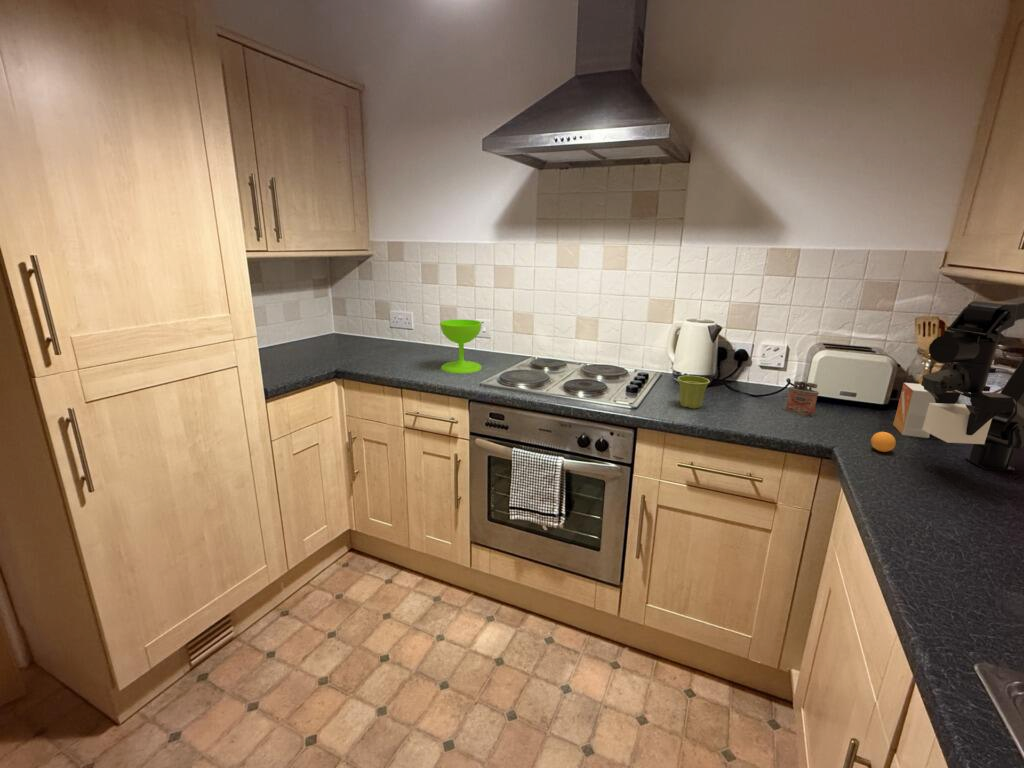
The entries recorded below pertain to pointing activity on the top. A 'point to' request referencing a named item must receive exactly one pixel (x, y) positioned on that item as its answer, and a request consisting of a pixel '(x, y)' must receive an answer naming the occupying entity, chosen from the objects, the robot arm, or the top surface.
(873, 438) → the ball
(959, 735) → the top surface
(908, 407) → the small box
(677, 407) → the top surface
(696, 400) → the plant pot
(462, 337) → the wineglass
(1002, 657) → the top surface
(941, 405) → the cream cube
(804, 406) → the lighter
